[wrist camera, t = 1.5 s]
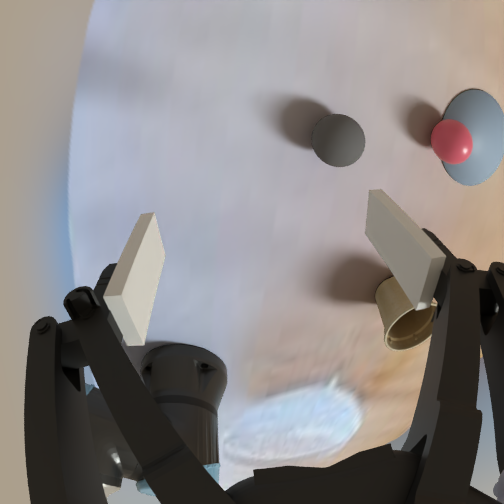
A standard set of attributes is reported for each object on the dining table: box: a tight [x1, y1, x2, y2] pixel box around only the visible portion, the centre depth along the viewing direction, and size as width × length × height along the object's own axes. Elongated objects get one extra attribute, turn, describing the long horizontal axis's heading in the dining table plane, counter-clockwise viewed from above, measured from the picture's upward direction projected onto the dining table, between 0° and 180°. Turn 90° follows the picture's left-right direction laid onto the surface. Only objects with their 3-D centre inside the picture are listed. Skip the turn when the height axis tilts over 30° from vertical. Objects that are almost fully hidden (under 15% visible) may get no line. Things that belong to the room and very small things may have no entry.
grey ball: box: [312, 114, 365, 167], centre depth 30 cm, size 6×6×6 cm
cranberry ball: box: [431, 119, 473, 164], centre depth 30 cm, size 6×6×6 cm
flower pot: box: [375, 276, 437, 351], centre depth 42 cm, size 9×9×9 cm
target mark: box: [442, 89, 504, 186], centre depth 32 cm, size 14×14×1 cm
